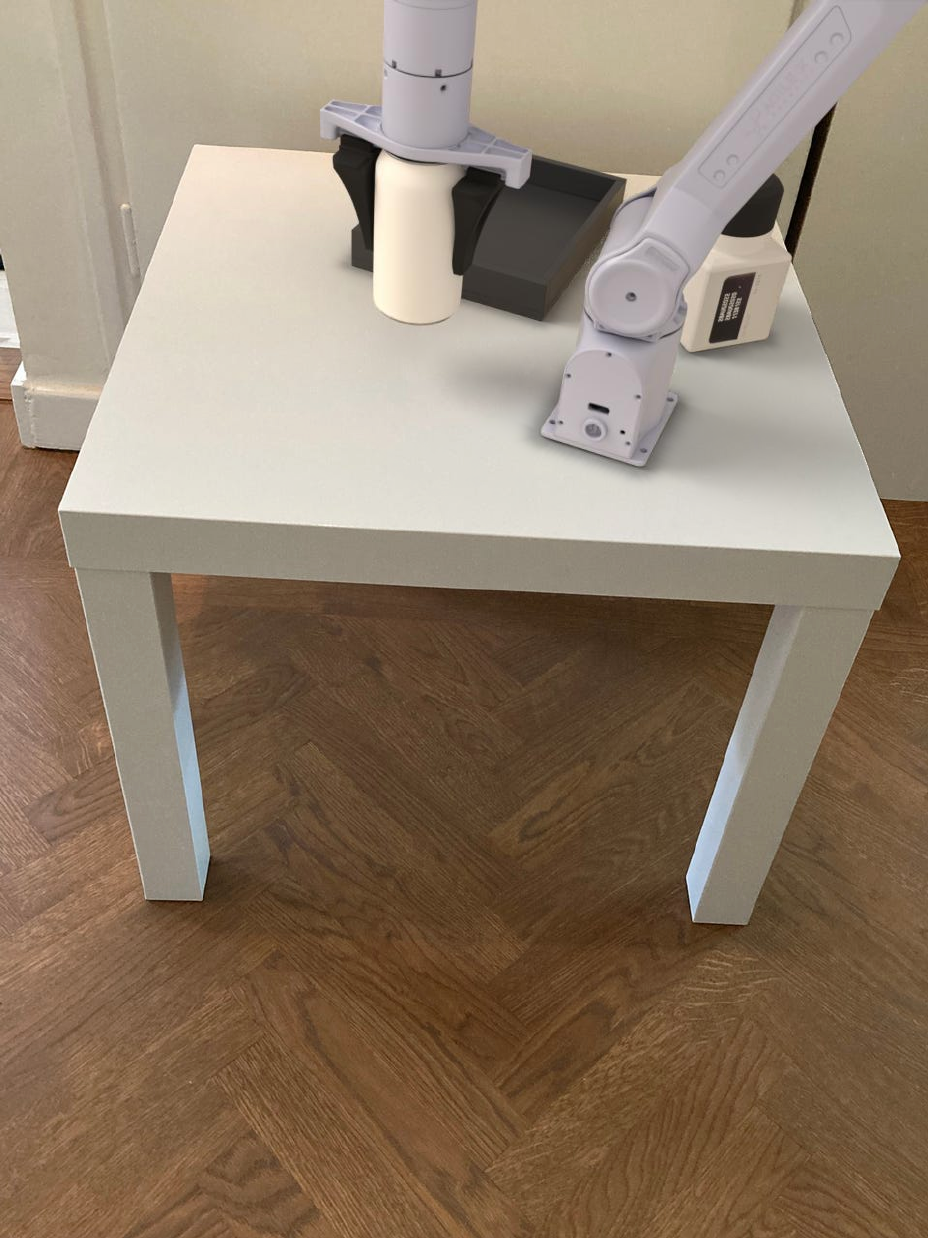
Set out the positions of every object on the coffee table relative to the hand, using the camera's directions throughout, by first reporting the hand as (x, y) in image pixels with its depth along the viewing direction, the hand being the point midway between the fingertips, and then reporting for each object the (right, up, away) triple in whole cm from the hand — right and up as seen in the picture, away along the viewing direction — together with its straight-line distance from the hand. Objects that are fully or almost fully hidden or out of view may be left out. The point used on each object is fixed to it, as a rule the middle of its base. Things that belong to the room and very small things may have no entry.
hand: (418, 256), depth 83 cm
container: (+24, -1, +14) cm, 28 cm away
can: (0, -3, +3) cm, 4 cm away
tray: (+6, +8, +22) cm, 24 cm away
